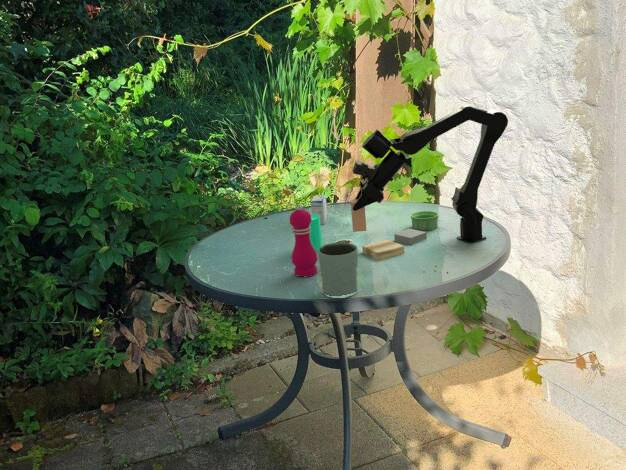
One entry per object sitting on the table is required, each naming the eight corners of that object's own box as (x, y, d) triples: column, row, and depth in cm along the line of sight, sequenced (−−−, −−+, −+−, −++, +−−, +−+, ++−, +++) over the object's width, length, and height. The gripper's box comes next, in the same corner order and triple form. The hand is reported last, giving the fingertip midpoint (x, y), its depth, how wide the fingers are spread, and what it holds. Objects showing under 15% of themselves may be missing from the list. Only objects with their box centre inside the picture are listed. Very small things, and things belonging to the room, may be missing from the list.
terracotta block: (365, 227, 207) (363, 198, 204) (366, 230, 203) (364, 201, 200) (352, 228, 207) (350, 199, 204) (353, 231, 203) (350, 202, 200)
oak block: (404, 254, 199) (404, 246, 198) (378, 261, 195) (378, 253, 194) (387, 247, 207) (387, 239, 206) (362, 253, 203) (362, 245, 202)
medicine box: (315, 218, 244) (313, 195, 241) (327, 218, 243) (325, 194, 240) (312, 225, 236) (310, 201, 234) (325, 224, 235) (323, 200, 233)
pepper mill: (299, 280, 185) (291, 209, 179) (289, 272, 192) (282, 204, 186) (323, 274, 188) (316, 204, 182) (312, 267, 194) (306, 199, 188)
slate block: (426, 239, 210) (426, 232, 209) (411, 245, 206) (411, 237, 205) (409, 236, 215) (409, 228, 214) (394, 241, 211) (394, 234, 210)
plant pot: (330, 284, 180) (326, 241, 176) (366, 286, 176) (362, 242, 172) (315, 299, 171) (311, 254, 168) (353, 301, 167) (349, 255, 164)
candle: (323, 246, 212) (320, 209, 209) (321, 252, 206) (318, 214, 203) (304, 247, 213) (301, 210, 209) (302, 253, 207) (298, 215, 204)
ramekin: (426, 221, 227) (426, 209, 226) (444, 227, 220) (444, 214, 219) (405, 227, 223) (404, 214, 222) (423, 233, 216) (422, 219, 214)
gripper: (365, 146, 207) (332, 184, 210) (369, 157, 189) (333, 198, 193) (392, 169, 209) (359, 206, 212) (399, 182, 191) (362, 223, 194)
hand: (353, 208), depth 203 cm, fingers closed on terracotta block, 4 cm apart
